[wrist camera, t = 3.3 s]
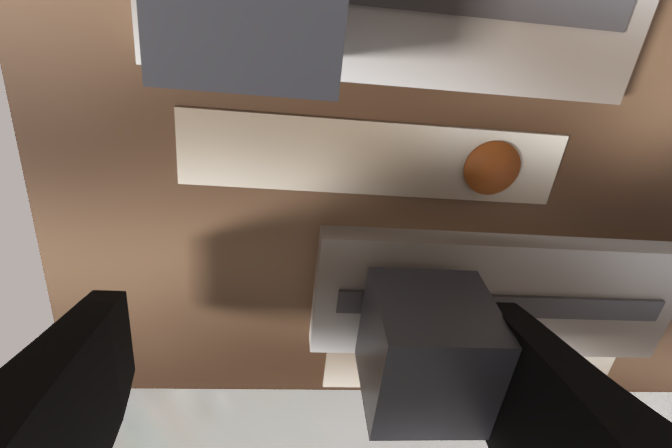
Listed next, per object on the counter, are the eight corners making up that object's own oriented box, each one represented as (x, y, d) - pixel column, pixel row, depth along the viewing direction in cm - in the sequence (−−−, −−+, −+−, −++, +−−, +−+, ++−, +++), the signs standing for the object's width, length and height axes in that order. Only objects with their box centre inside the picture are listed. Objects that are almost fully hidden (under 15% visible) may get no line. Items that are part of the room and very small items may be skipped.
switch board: (681, 367, 16) (721, 411, 15) (82, 359, 14) (57, 409, 12) (970, -127, 10) (1091, -139, 8) (-38, -290, 8) (-116, -344, 6)
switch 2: (454, 354, 12) (488, 440, 10) (354, 352, 12) (369, 440, 10) (477, 271, 11) (522, 348, 9) (368, 266, 11) (388, 346, 9)
